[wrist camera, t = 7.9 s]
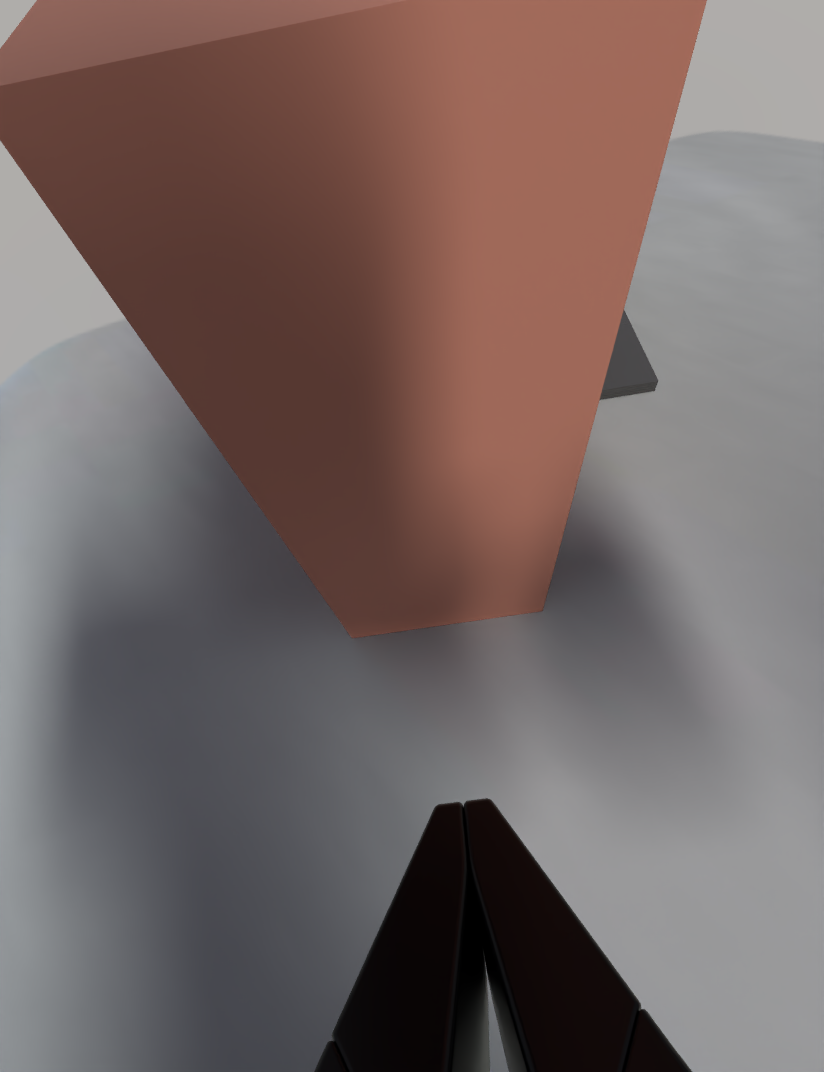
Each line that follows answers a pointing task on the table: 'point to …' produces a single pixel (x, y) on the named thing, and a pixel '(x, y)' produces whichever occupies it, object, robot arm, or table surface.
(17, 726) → the table surface
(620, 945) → the table surface
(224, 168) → the book box
